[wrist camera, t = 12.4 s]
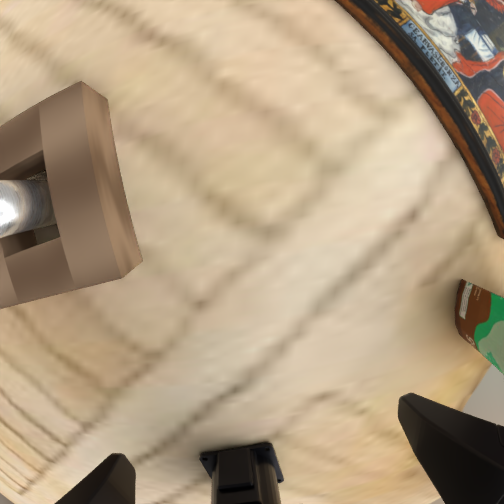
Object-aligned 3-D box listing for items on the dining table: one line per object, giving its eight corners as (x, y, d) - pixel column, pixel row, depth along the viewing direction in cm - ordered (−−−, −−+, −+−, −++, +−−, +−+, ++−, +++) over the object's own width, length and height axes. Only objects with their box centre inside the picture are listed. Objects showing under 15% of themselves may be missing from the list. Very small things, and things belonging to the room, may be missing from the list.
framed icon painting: (422, -95, 11) (430, -104, 8) (572, 82, 18) (583, 80, 15) (239, -25, 15) (241, -46, 13) (505, 265, 22) (524, 272, 19)
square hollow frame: (142, 261, 18) (121, 278, 14) (24, 293, 18) (-7, 310, 14) (107, 99, 16) (81, 80, 12) (-6, 158, 16) (-39, 156, 12)
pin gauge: (75, 217, 17) (-2, 234, 10) (43, 229, 17) (-34, 250, 10) (66, 174, 17) (-13, 171, 9) (35, 188, 17) (-44, 193, 9)
